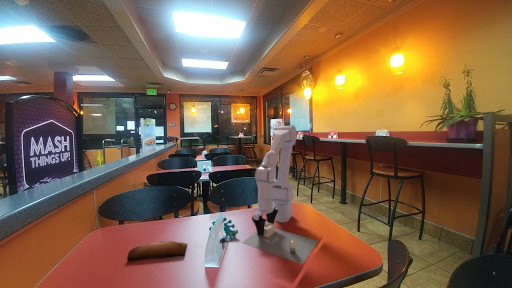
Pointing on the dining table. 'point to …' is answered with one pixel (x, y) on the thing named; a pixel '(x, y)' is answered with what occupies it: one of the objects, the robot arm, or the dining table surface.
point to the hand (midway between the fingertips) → (265, 231)
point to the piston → (292, 246)
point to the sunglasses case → (157, 250)
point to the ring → (268, 229)
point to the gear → (228, 229)
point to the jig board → (283, 245)
